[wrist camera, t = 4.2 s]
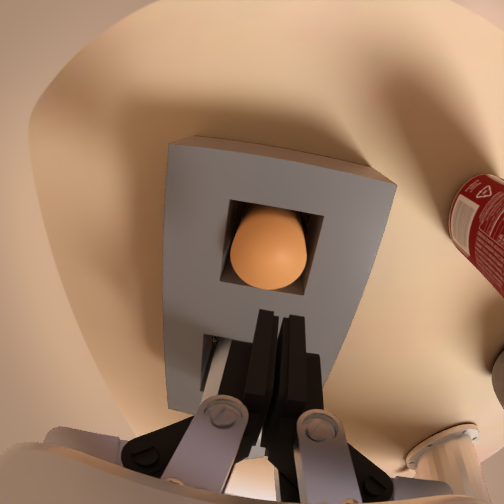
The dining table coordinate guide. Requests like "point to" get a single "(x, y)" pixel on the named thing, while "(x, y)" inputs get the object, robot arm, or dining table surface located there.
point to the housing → (221, 237)
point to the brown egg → (269, 247)
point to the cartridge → (215, 381)
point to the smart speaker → (499, 378)
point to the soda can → (481, 226)
